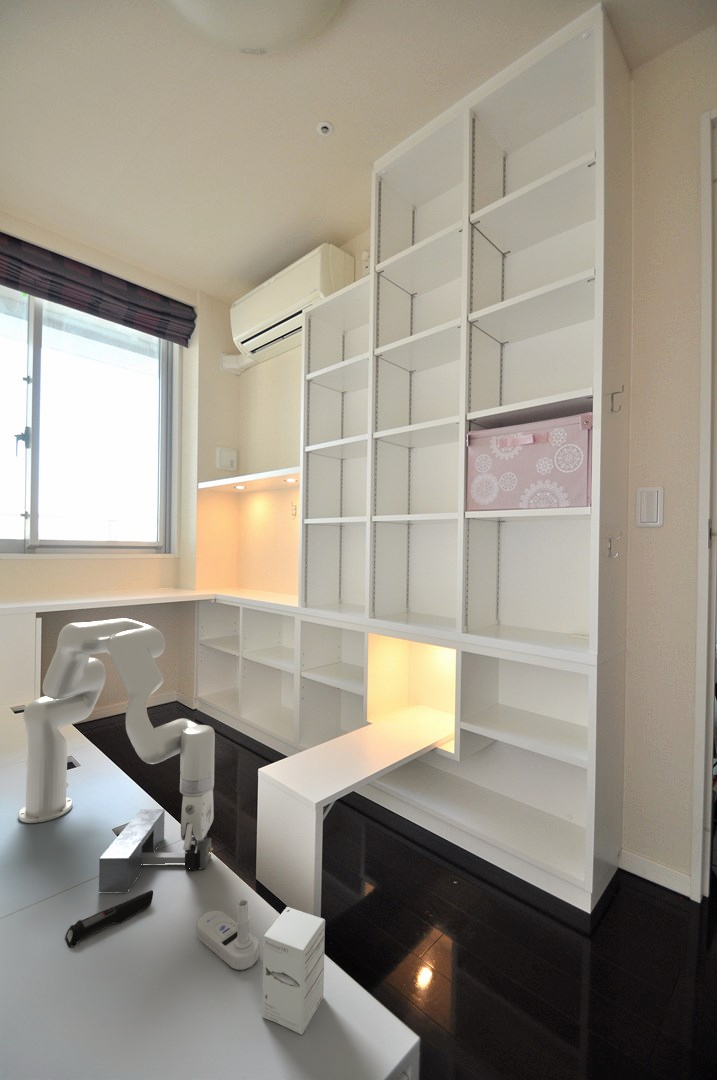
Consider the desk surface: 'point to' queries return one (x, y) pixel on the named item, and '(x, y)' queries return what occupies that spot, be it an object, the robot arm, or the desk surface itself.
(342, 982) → the desk surface
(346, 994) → the desk surface
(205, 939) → the electronic device
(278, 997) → the supplement box
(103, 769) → the desk surface
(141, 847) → the block
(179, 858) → the lever
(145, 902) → the electric trimmer
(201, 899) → the desk surface
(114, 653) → the robot arm
